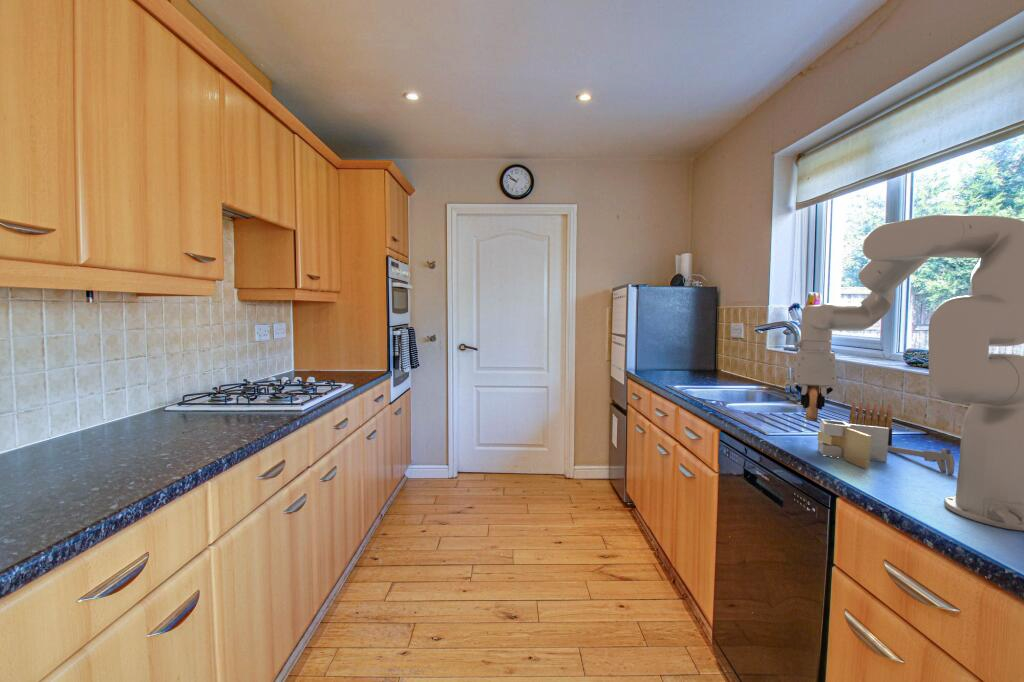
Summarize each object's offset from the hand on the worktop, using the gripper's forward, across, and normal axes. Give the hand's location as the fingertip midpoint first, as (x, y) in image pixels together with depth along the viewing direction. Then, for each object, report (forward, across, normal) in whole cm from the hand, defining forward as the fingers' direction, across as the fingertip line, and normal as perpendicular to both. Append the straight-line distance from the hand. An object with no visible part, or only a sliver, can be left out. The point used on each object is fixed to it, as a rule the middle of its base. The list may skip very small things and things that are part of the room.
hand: (812, 407), depth 128 cm
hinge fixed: (+11, +8, -9) cm, 17 cm away
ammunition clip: (+11, +17, +11) cm, 23 cm away
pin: (+4, 0, 0) cm, 4 cm away
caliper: (+12, +22, -4) cm, 26 cm away
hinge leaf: (+11, +5, -13) cm, 18 cm away
